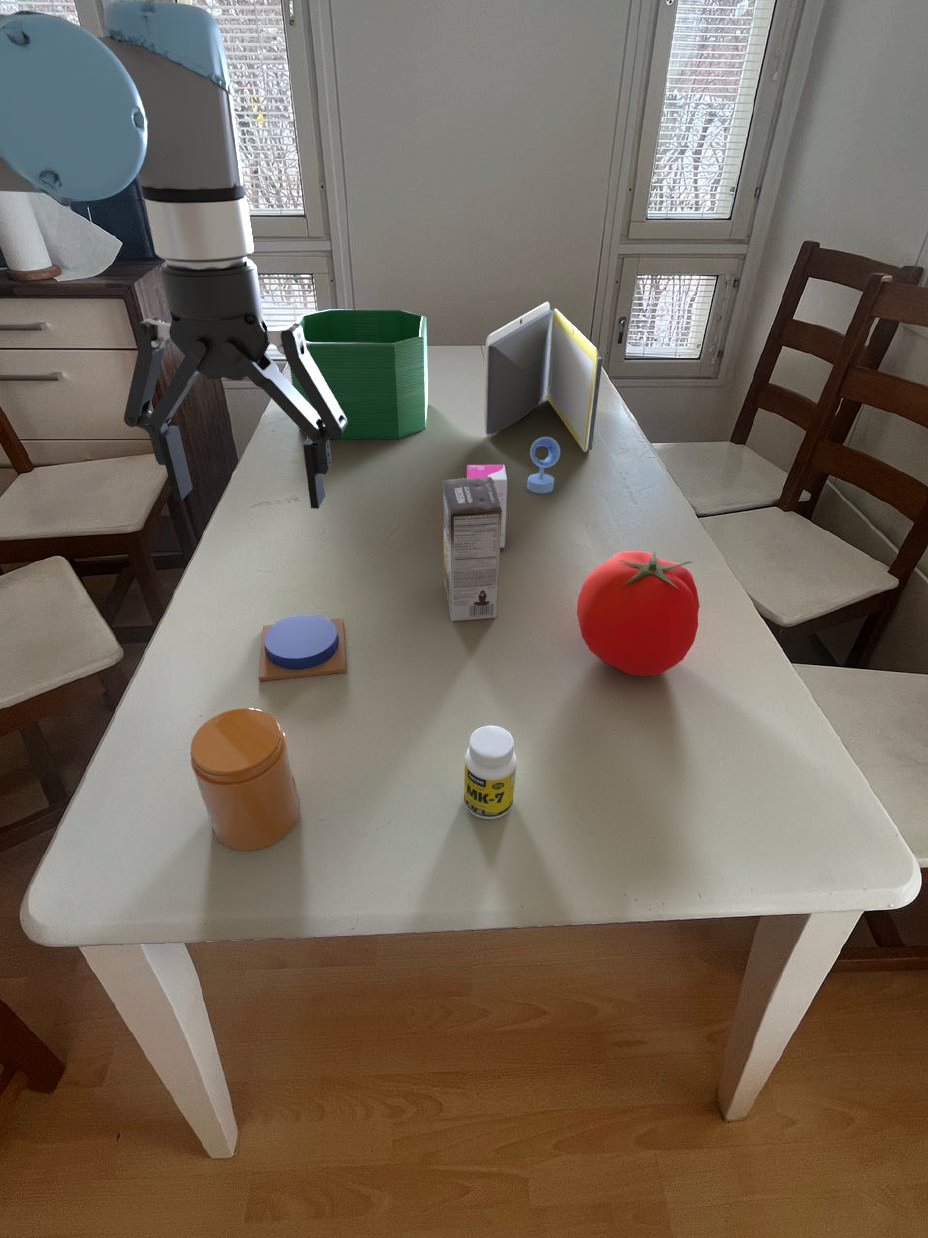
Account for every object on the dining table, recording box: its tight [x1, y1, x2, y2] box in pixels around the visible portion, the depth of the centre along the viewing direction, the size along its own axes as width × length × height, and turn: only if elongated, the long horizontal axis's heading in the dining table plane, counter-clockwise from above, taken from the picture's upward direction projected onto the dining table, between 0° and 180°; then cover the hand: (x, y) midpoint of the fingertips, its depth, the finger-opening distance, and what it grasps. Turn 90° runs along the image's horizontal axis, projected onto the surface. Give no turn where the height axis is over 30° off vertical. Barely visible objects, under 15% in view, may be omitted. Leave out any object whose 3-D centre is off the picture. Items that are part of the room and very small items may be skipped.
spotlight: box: [526, 436, 561, 494], centre depth 117 cm, size 5×10×7 cm
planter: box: [288, 309, 429, 440], centre depth 141 cm, size 26×26×18 cm
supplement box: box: [466, 464, 508, 552], centre depth 102 cm, size 6×6×12 cm
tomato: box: [576, 549, 700, 677], centre depth 81 cm, size 16×14×14 cm
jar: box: [190, 707, 301, 852], centre depth 62 cm, size 8×8×10 cm
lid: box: [264, 613, 339, 670], centre depth 84 cm, size 9×9×2 cm
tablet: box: [483, 301, 603, 453], centre depth 139 cm, size 35×22×20 cm, turn 10°
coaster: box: [257, 617, 347, 682], centre depth 85 cm, size 10×10×1 cm
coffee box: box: [442, 477, 502, 622], centre depth 88 cm, size 9×6×16 cm
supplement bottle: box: [463, 725, 517, 820], centre depth 64 cm, size 5×5×8 cm
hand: (250, 498), depth 68 cm, fingers open, 13 cm apart
